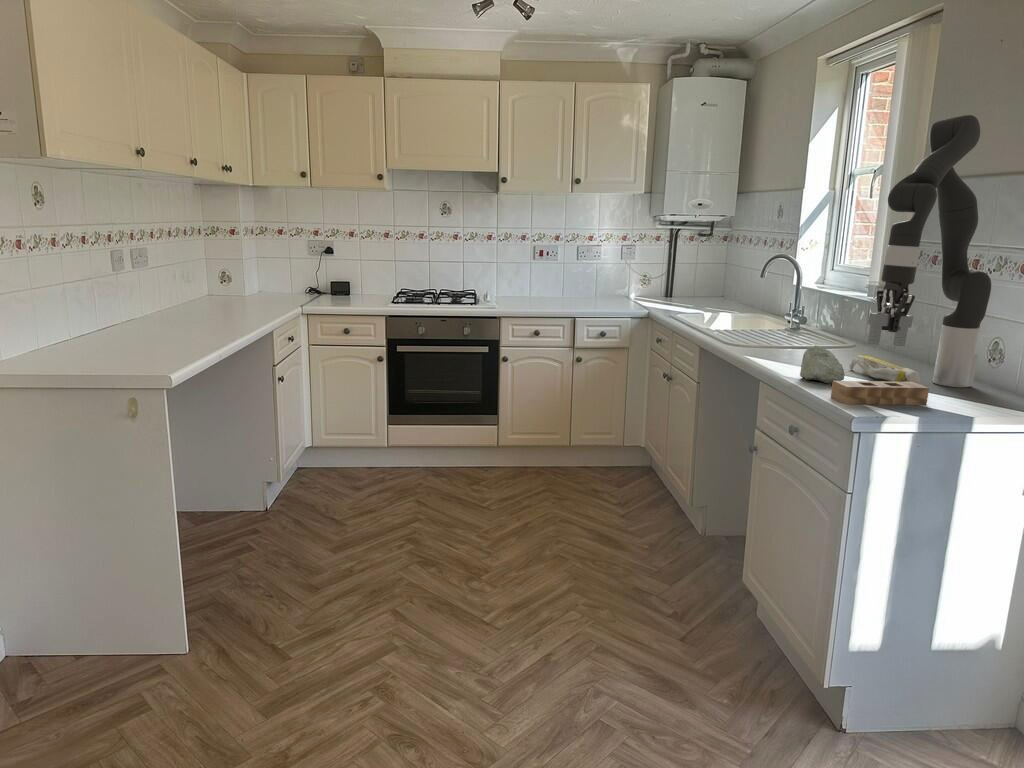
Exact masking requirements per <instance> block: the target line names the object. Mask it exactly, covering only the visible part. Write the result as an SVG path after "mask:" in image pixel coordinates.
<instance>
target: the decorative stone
mask: <svg viewBox="0 0 1024 768" xmlns="http://www.w3.org/2000/svg"><path fill="white" fill-rule="evenodd" d="M801 361H802V362H801V366H800V372H799V376H800V377H801V378H802V379H804V380H806V381H814V380H815V381H819V382H821V383H823V384H826V385H827V384H828V385H832V384H833V381H845V374H846V373H845V369H844V367H843V365H842V364H841V363H840V361H839V359H838V358H837V357H836V355H835V354H834V353H833V352H831V351H830V350H829V349H827V348H825V347H823V346H821V345H817V344H815V345H813V346H809V347H807V349H806V350H805V351H804V353H803V355H802V360H801Z"/></svg>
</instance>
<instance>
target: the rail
mask: <svg viewBox="0 0 1024 768" xmlns="http://www.w3.org/2000/svg"><path fill="white" fill-rule="evenodd" d="M831 385H832V387H831V393H830V398H832V399H833V400H836V401H838V402H840V403H842V404H844V405H890V406H891V405H895V406H897V405H898V406H899V405H901V406H903V405H905V406H909V405H910V406H927V405H928V404H927V403H928V397H929V392H930V387H927V386H925V385H922V384H920V383H918V384H917V383H914V382H908V381H907V382H890V381H887V380H883V381H880V380H874V381H873V380H871V381H869V380H842V381H833V384H831Z"/></svg>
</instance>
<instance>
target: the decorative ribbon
mask: <svg viewBox="0 0 1024 768" xmlns="http://www.w3.org/2000/svg"><path fill="white" fill-rule="evenodd" d="M857 357H861V358H863V361H861V360H859V359H858V358H856V357H854V358H853V359H852V361H851V362H850V364H849V369H850V370H851V371H853V370H854V368H855V366H856V365H858V367H860V368H861V370H863V371H864V374H865V375H868V376H870V377H871V378H873V379H874V380H875V381H888V382H914V383H917V384H920V382H921V375H920V373H919V372H917V371H915V370H913V369H911V368H907V367H901V366H898V365H896V364H893V363H889V362H886V361H884V360H882V359H881V360H880V359H878V358H875V357H871V356H869V355H865V356H864V355H859V354H858V355H857ZM879 364H882V365H885V366H886V367H885V366H880V365H879ZM859 372H860V373H862V371H860V370H859Z"/></svg>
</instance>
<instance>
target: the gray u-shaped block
mask: <svg viewBox="0 0 1024 768" xmlns="http://www.w3.org/2000/svg"><path fill="white" fill-rule="evenodd" d="M890 317H891V314H886V313H881V312H869V314H868V319H867V325H870V326H869V332H868V338H867V344H868V345H872V346H873V345H874V346H879V345H880V341H881V340H880V339H881V336H882V331H883V330H882V326H889V322H890ZM891 318H892V317H891ZM913 320H914V315H910V314H909V315H908V314H907V316H903V317H902V318H900V322H899V327H898V331H897V332H894V338H893V343H892V345H893V346H897V347H905V346H906V340H907V336H908V330H909V329H910V328H912V326H913Z"/></svg>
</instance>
